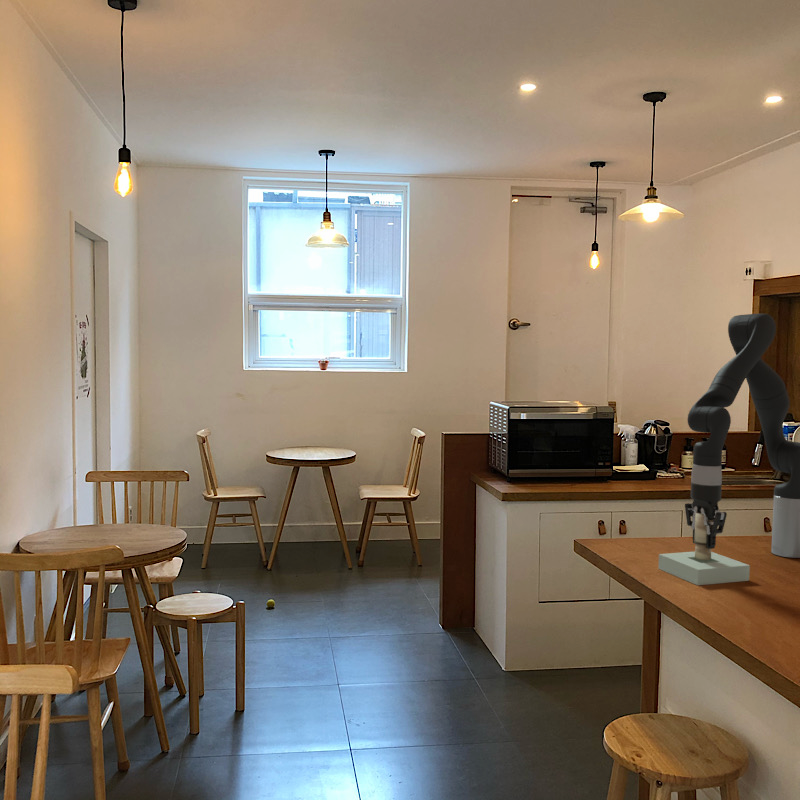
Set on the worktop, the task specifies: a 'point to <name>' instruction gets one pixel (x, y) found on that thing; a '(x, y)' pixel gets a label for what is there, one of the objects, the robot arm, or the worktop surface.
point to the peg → (701, 538)
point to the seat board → (704, 568)
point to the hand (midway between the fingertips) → (703, 545)
